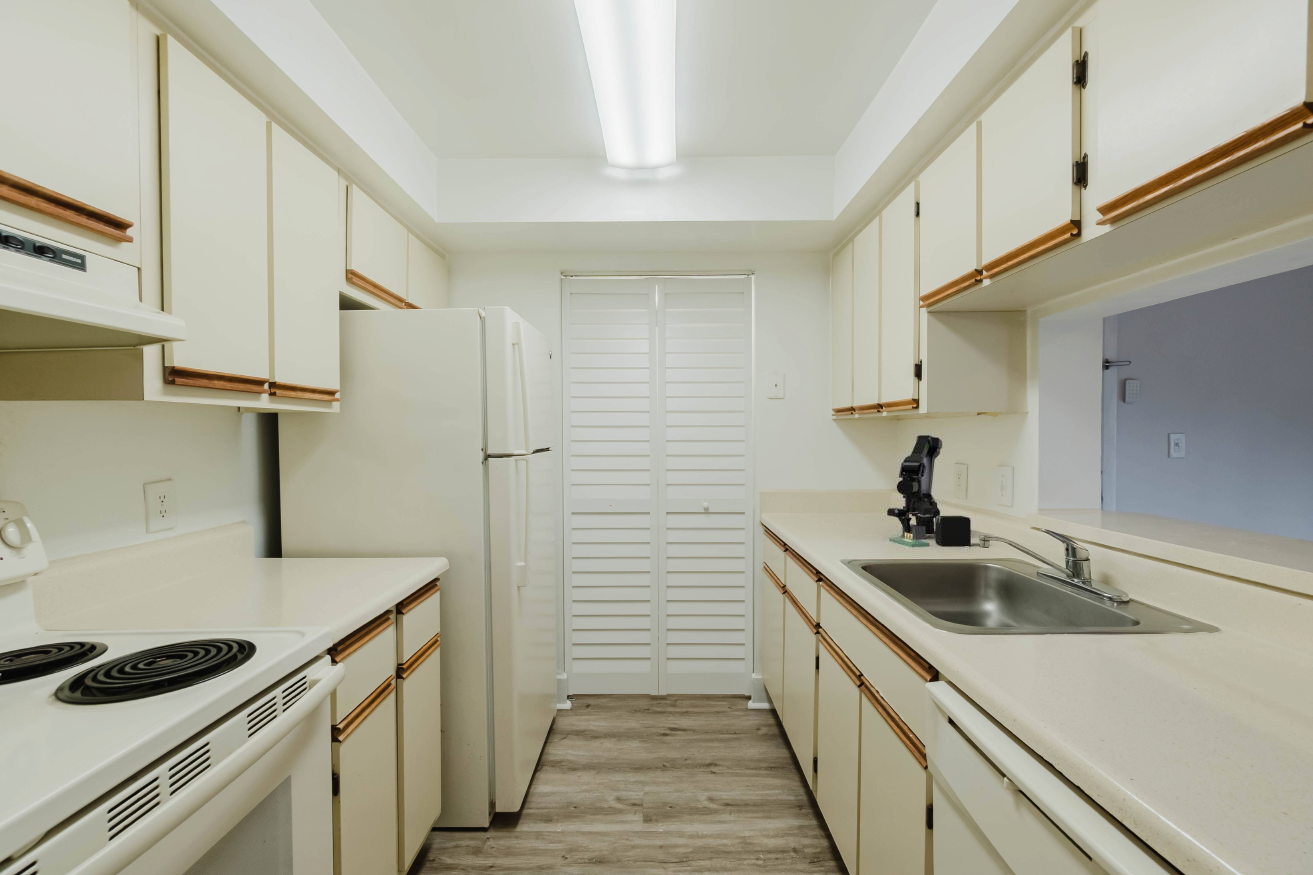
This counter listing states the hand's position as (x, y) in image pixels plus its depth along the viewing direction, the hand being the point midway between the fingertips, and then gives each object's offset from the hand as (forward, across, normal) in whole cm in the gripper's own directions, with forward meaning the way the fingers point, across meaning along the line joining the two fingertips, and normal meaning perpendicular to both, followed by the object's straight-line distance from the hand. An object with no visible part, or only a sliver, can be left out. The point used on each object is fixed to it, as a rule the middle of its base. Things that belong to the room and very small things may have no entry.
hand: (913, 534), depth 200 cm
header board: (+1, -9, -9) cm, 13 cm away
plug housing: (+1, 0, 0) cm, 1 cm away
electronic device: (+1, +3, -16) cm, 16 cm away
